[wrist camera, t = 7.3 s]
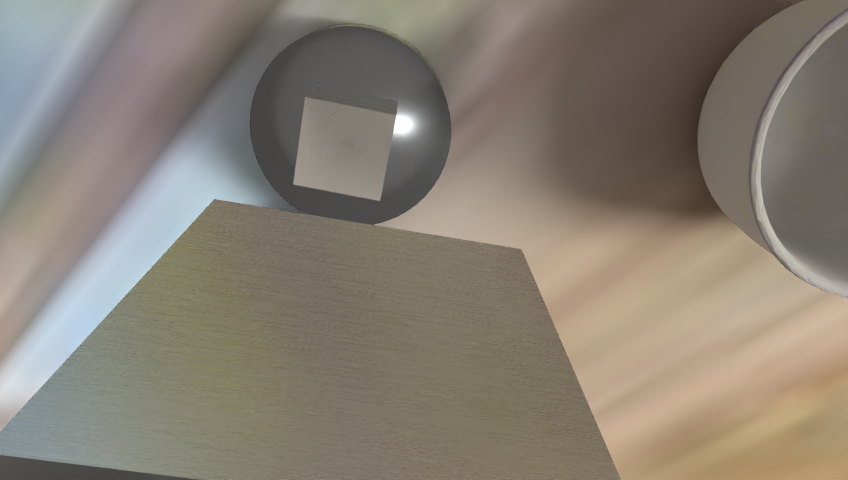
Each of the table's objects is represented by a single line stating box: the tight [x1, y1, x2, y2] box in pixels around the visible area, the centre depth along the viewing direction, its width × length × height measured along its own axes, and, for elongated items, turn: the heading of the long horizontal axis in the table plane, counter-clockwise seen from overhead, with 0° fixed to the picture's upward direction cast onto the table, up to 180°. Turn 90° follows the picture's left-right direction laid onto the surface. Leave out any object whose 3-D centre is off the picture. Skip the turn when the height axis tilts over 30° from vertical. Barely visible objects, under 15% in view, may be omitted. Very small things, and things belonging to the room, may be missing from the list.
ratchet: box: [250, 24, 451, 225], centre depth 27 cm, size 21×8×6 cm, turn 168°
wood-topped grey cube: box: [0, 199, 621, 480], centre depth 10 cm, size 6×6×7 cm
